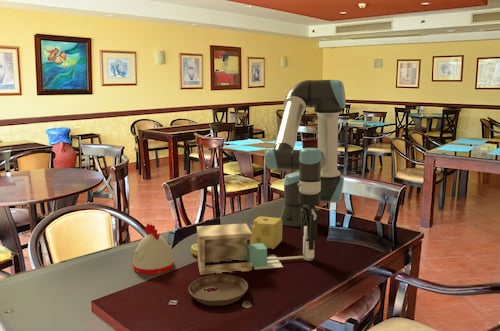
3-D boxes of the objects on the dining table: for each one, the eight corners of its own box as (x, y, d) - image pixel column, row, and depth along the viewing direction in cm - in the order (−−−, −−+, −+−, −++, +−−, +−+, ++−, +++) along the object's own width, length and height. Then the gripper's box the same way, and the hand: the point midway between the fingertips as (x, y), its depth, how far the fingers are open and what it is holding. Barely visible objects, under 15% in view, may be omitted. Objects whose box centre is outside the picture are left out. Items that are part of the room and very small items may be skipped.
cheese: (249, 246, 179) (249, 221, 177) (259, 238, 188) (259, 214, 187) (274, 249, 175) (274, 224, 173) (283, 241, 185) (283, 217, 183)
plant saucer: (199, 314, 125) (198, 304, 125) (182, 289, 141) (181, 279, 141) (257, 302, 132) (257, 292, 132) (234, 279, 148) (234, 270, 148)
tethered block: (310, 255, 167) (310, 224, 165) (315, 261, 161) (316, 229, 159) (246, 260, 163) (246, 228, 161) (250, 266, 157) (249, 233, 155)
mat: (275, 256, 167) (275, 256, 167) (282, 267, 157) (282, 266, 157) (249, 258, 165) (249, 258, 165) (254, 269, 155) (254, 268, 155)
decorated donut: (223, 256, 168) (223, 246, 168) (195, 260, 164) (195, 250, 164) (214, 247, 178) (214, 238, 177) (188, 251, 174) (187, 241, 173)
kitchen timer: (159, 256, 169) (158, 217, 166) (181, 266, 159) (180, 224, 156) (125, 266, 159) (123, 225, 156) (147, 277, 149) (145, 233, 147)
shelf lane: (246, 258, 166) (245, 223, 164) (252, 270, 154) (252, 233, 152) (197, 261, 162) (196, 226, 160) (200, 274, 151) (199, 236, 149)
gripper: (292, 187, 167) (292, 248, 171) (306, 198, 151) (305, 264, 155) (312, 186, 169) (311, 247, 173) (327, 197, 153) (326, 263, 157)
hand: (308, 255), depth 164 cm, fingers closed on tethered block, 3 cm apart
